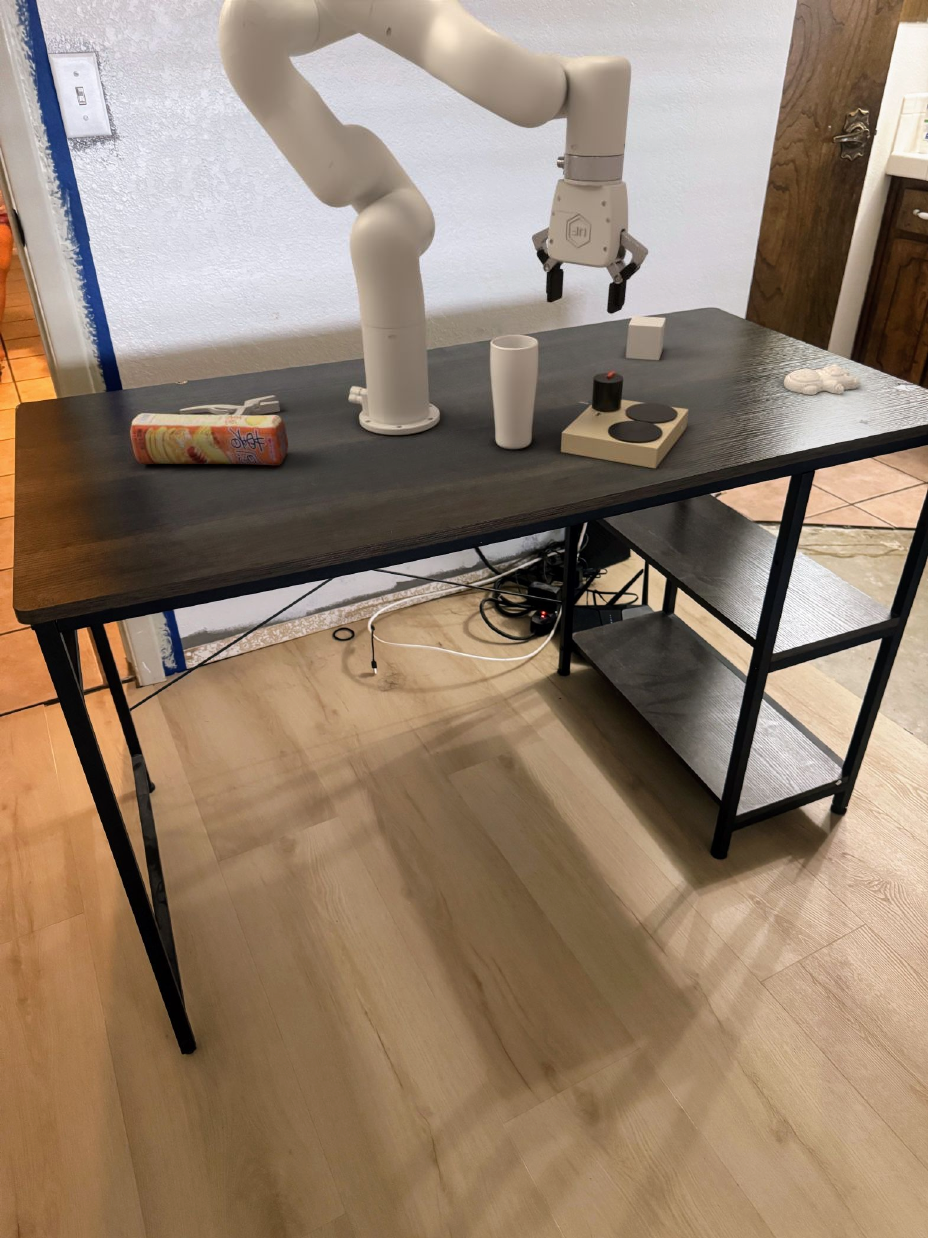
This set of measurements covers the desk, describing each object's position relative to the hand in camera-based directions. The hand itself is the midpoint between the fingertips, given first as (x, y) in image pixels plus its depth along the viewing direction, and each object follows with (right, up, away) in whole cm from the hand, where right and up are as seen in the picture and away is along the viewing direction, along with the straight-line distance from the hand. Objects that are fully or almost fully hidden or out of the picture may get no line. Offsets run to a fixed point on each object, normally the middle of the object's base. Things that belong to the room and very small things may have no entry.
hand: (583, 305), depth 122 cm
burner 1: (+11, -13, +7) cm, 19 cm away
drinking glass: (-10, -18, +7) cm, 22 cm away
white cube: (+17, +5, +40) cm, 44 cm away
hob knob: (+5, -12, +10) cm, 16 cm away
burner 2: (+7, -17, +2) cm, 19 cm away
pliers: (-54, -11, +19) cm, 58 cm away
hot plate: (+7, -17, +7) cm, 20 cm away
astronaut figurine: (+43, -5, +24) cm, 50 cm away
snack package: (-53, -21, +4) cm, 57 cm away
